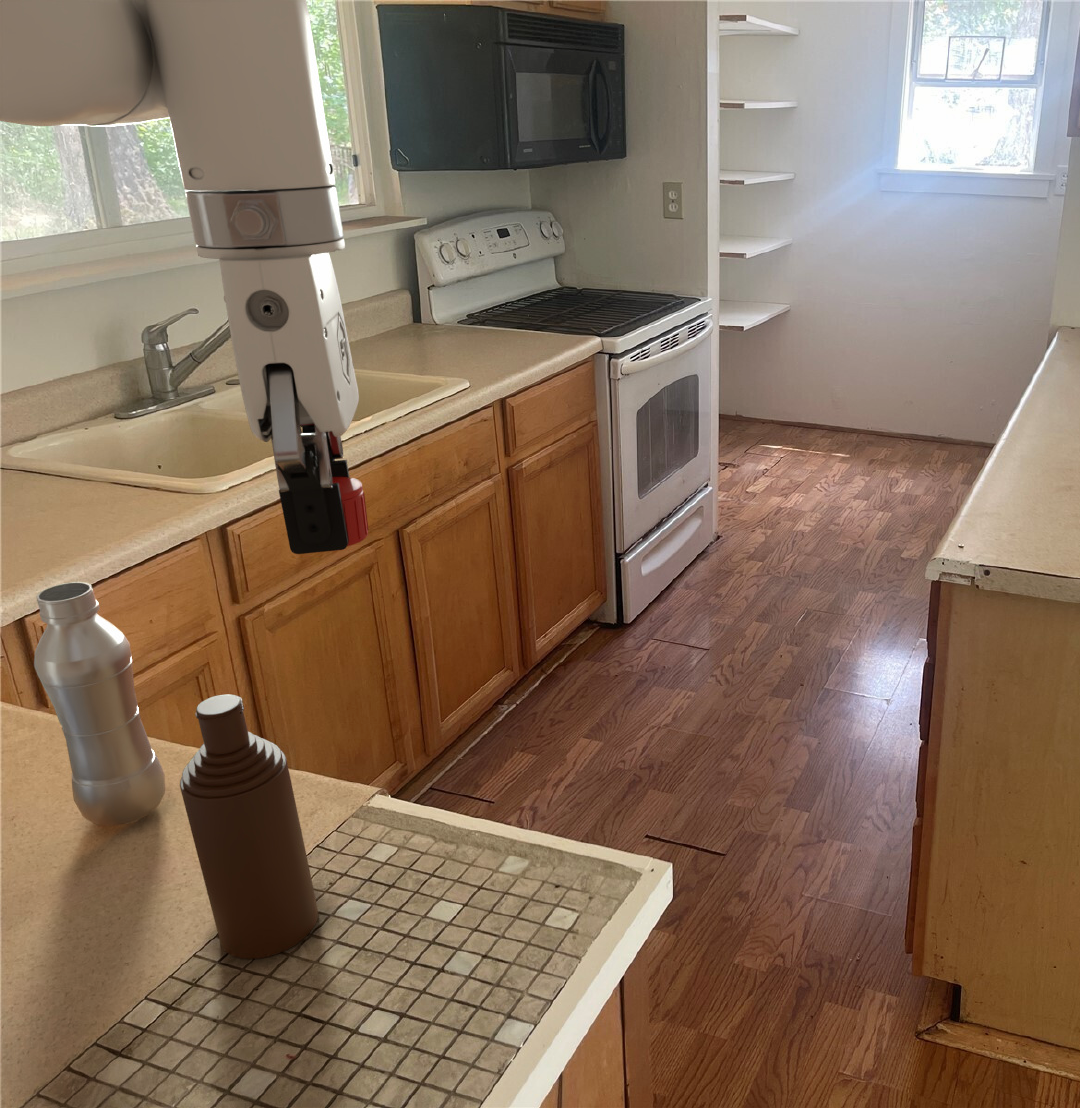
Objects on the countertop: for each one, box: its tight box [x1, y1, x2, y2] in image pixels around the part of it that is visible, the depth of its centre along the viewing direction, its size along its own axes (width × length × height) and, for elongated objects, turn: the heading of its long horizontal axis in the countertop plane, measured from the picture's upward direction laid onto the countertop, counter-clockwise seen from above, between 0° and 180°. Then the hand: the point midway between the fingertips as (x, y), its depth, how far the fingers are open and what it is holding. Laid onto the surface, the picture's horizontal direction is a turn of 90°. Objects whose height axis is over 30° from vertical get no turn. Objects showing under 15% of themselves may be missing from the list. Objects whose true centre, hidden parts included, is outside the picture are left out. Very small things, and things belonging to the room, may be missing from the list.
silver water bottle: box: [33, 581, 166, 827], centre depth 81 cm, size 6×7×20 cm
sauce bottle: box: [179, 693, 319, 960], centre depth 70 cm, size 6×6×18 cm
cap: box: [332, 476, 369, 547], centre depth 63 cm, size 4×4×3 cm
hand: (324, 533), depth 63 cm, fingers closed on cap, 3 cm apart
